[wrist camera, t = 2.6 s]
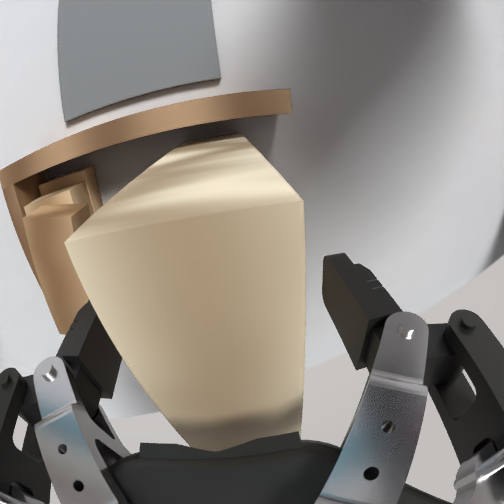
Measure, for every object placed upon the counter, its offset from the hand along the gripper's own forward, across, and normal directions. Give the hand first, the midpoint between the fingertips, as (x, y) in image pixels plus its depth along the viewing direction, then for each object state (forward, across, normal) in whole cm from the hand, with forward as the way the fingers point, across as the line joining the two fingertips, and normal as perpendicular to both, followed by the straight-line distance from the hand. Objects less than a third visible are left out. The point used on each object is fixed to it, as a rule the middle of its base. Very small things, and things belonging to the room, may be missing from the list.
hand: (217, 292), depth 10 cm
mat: (+8, +4, -13) cm, 16 cm away
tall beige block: (+8, 0, 0) cm, 8 cm away
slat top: (+5, +9, 0) cm, 10 cm away
